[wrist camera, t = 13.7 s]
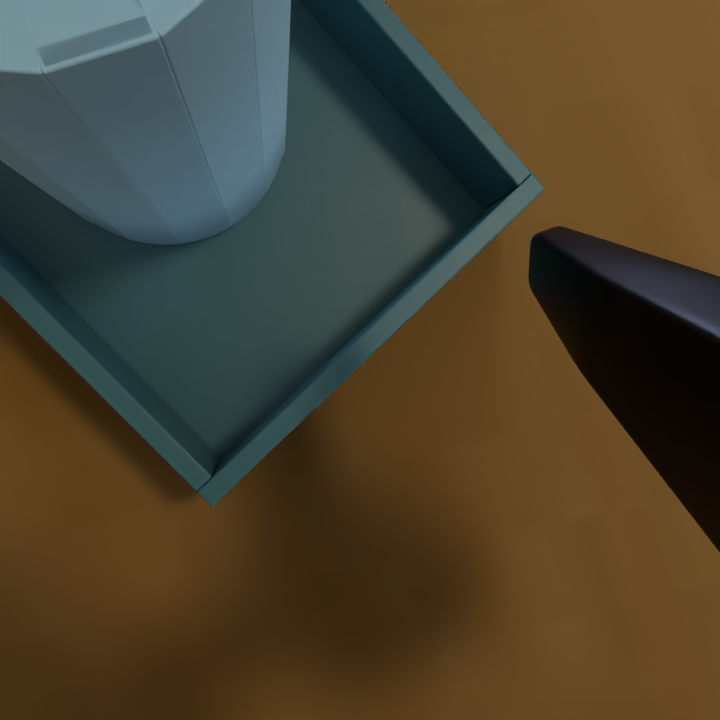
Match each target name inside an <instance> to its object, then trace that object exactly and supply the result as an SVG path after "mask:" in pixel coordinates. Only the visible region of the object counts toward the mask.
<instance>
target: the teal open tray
mask: <svg viewBox="0 0 720 720" xmlns="http://www.w3.org/2000/svg"><path fill="white" fill-rule="evenodd" d="M544 189H545V188H544V186H543V185H542V184H541V183H540V182H539V181H538V180H537V178H536V177H535V176H534V175H533V174H532V175H531V172H530V171H529V169H528V168H527V167H526V166H525V165H524V164H523V162H522V161H521V160H520V159H519V158H518V157H517V156H516V154H515V153H514V152H513V151H512V150H511V149H510V147H509V146H508V145H507V144H506V143H505V142H504V140H503V139H502V138H501V137H500V136H499V135H498V134H497V132H496V131H495V130H494V129H493V128H492V127H491V125H490V124H489V123H488V122H487V121H486V120H485V118H484V117H483V116H482V115H481V114H480V113H479V112H478V110H477V109H476V108H475V107H474V106H473V105H472V103H471V102H470V101H469V100H468V99H467V98H466V96H465V95H464V94H463V93H462V92H461V91H460V89H459V88H458V87H457V86H456V85H455V84H454V83H453V81H452V80H451V79H450V78H449V77H448V76H447V74H446V73H445V72H444V71H443V70H442V69H441V67H440V66H439V65H438V64H437V63H436V62H435V61H434V59H433V58H432V57H431V56H430V55H429V54H428V52H427V51H426V50H425V49H424V48H423V47H422V45H421V44H420V43H419V42H418V41H417V40H416V39H415V37H414V36H413V35H412V34H411V33H410V32H409V30H408V29H407V28H406V27H405V26H404V25H403V23H402V22H401V21H400V20H399V19H398V18H397V17H396V15H395V14H394V13H393V12H392V11H391V10H390V8H389V7H388V6H387V5H386V4H385V3H384V1H383V0H291V13H290V39H289V64H288V90H287V116H286V142H285V152H284V154H283V156H282V159H281V163H280V165H279V168H278V171H277V173H276V176H275V178H274V180H273V182H272V184H271V186H270V187H269V189H268V191H267V192H266V194H265V195H264V196H263V198H262V199H261V201H260V202H259V203H258V204H257V205H256V206H255V207H254V208H253V209H252V210H251V211H250V212H249V214H247V215H246V216H245V217H244V218H242V219H241V220H240V221H239V222H237V223H236V224H234V225H233V226H231V227H229V228H228V229H226V230H224V231H222V232H220V233H218V234H216V235H213V236H211V237H209V238H205V239H202V240H198V241H195V242H189V243H183V244H169V245H159V244H150V243H142V242H138V241H132V240H129V239H126V238H124V237H121V236H118V235H116V234H113V233H111V232H109V231H107V230H105V229H103V228H101V227H99V226H97V225H95V224H93V223H91V222H89V221H86V220H84V219H83V218H82V217H80V216H79V215H77V214H76V213H74V212H73V211H72V210H70V209H69V208H67V207H66V206H65V205H63V204H62V203H60V202H59V201H57V200H56V199H55V198H53V197H52V196H50V195H49V194H48V193H46V192H45V191H43V190H42V189H40V188H39V187H38V186H36V185H35V184H33V183H32V182H30V181H29V180H28V179H26V178H25V177H23V176H22V175H21V174H19V173H18V172H16V171H15V170H13V169H12V168H11V167H9V166H8V165H6V164H5V163H3V162H2V161H1V160H0V296H1V297H2V298H3V299H4V300H5V301H6V302H7V303H8V304H9V305H10V306H11V307H12V308H13V309H14V310H15V311H16V312H17V313H18V314H19V315H20V316H21V317H22V318H23V319H24V320H25V321H26V322H27V323H28V324H29V325H30V326H31V327H32V328H33V329H34V330H35V331H36V332H37V333H38V334H39V335H40V336H41V337H42V338H43V339H44V340H45V341H46V342H47V343H48V344H49V345H50V346H51V347H52V348H53V349H54V350H55V351H56V352H57V353H58V354H59V355H60V356H61V357H62V358H63V359H64V360H65V361H66V362H67V363H68V364H69V365H70V366H71V367H72V368H73V369H74V370H75V371H76V372H77V373H78V374H79V375H80V376H81V377H82V378H83V379H84V380H85V381H86V382H87V383H88V384H89V385H90V386H91V387H92V388H93V389H94V390H95V391H96V392H97V393H98V394H99V395H100V396H101V397H102V398H103V399H104V400H105V401H106V402H107V403H108V404H109V405H110V406H111V407H112V408H113V409H114V410H115V411H116V412H117V413H118V414H119V415H120V416H121V417H122V418H123V419H124V420H125V421H126V422H127V423H128V424H129V425H130V426H131V427H132V428H133V429H134V430H135V431H136V432H137V433H138V434H139V435H140V436H141V437H142V438H143V439H144V440H145V441H146V442H147V443H148V444H149V445H150V446H151V447H152V448H153V449H154V450H155V451H156V452H157V453H158V454H159V455H160V456H161V457H162V458H163V459H164V460H165V461H166V462H167V463H168V464H169V465H170V466H171V467H172V468H173V469H174V470H175V471H176V472H177V473H178V474H179V475H180V476H181V477H182V478H183V479H184V480H185V481H186V482H187V483H188V484H189V485H190V486H191V487H192V488H193V489H194V490H196V491H197V490H198V492H197V493H198V494H199V495H200V496H201V497H202V498H203V499H204V500H205V501H206V502H207V503H208V504H209V505H210V506H211V507H212V506H214V505H215V504H216V503H217V502H218V501H219V500H220V499H221V498H222V497H223V496H224V495H226V494H227V493H228V492H229V491H230V490H231V489H232V488H233V487H234V486H235V485H236V484H237V483H238V482H239V481H240V480H241V479H242V478H243V477H244V476H245V475H246V474H248V473H249V472H250V471H251V470H252V469H253V468H254V467H255V466H256V465H257V464H258V463H259V462H260V461H261V460H262V459H263V458H264V457H265V456H266V455H267V454H268V453H270V452H271V451H272V450H273V449H274V448H275V447H276V446H277V445H278V444H279V443H280V442H281V441H282V440H283V439H284V438H285V437H286V436H287V435H288V434H289V433H290V432H292V431H293V430H294V429H295V428H296V427H297V426H298V425H299V424H300V423H301V422H302V421H303V420H304V419H305V418H306V417H307V416H308V415H309V414H310V413H311V412H312V411H313V410H315V409H316V408H317V407H318V406H319V405H320V404H321V403H322V402H323V401H324V400H325V399H326V398H327V397H328V396H329V395H330V394H331V393H332V392H333V391H334V390H335V389H337V388H338V387H339V386H340V385H341V384H342V383H343V382H344V381H345V380H346V379H347V378H348V377H349V376H350V375H351V374H352V373H353V372H354V371H355V370H356V369H357V368H359V367H360V366H361V365H362V364H363V363H364V362H365V361H366V360H367V359H368V358H369V357H370V356H371V355H372V354H373V353H374V352H375V351H376V350H377V349H378V348H379V347H381V346H382V345H383V344H384V343H385V342H386V341H387V340H388V339H389V338H390V337H391V336H392V335H393V334H394V333H395V332H396V331H397V330H398V329H399V328H400V327H401V326H402V325H404V324H405V323H406V322H407V321H408V320H409V319H410V318H411V317H412V316H413V315H414V314H415V313H416V312H417V311H418V310H419V309H420V308H421V307H422V306H423V305H424V304H426V303H427V302H428V301H429V300H430V299H431V298H432V297H433V296H434V295H435V294H436V293H437V292H438V291H439V290H440V289H441V288H442V287H443V286H444V285H445V284H446V283H448V282H449V281H450V280H451V279H452V278H453V277H454V276H455V275H456V274H457V273H458V272H459V271H460V270H461V269H462V268H463V267H464V266H465V265H466V264H467V263H468V262H469V261H471V260H472V259H473V258H474V257H475V256H476V255H477V254H478V253H479V252H480V251H481V250H482V249H483V248H484V247H485V246H486V245H487V244H488V243H489V242H490V241H491V240H493V239H494V238H495V237H496V236H497V235H498V234H499V233H500V232H501V231H502V230H503V229H504V228H505V227H506V226H507V225H508V224H509V223H510V222H511V221H512V220H513V219H515V218H516V217H517V216H518V215H519V214H520V213H521V212H522V211H523V210H524V209H525V208H526V207H527V206H528V205H529V204H530V203H531V202H532V201H533V200H534V199H535V198H537V197H538V196H539V195H540V194H541V193H542V192H543V191H544Z"/></svg>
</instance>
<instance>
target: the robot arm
mask: <svg viewBox="0 0 720 720" xmlns="http://www.w3.org/2000/svg"><path fill="white" fill-rule="evenodd" d="M528 277H529V284H530V288H531V290H532V292H533V294H534V296H535V297H536V299H537V301H538V302H539V304H540V306H541V307H542V309H543V311H544V312H545V314H546V316H547V317H548V319H549V321H550V322H551V324H552V326H553V328H554V329H555V331H556V333H557V334H558V336H559V338H560V339H561V341H562V343H563V344H564V346H565V348H566V349H567V351H568V353H569V354H570V356H571V358H572V359H573V361H574V362H575V364H576V365H577V367H578V369H579V370H580V371H581V373H582V374H583V376H584V377H585V378H586V380H587V381H588V382H589V384H590V385H591V386H592V387H593V389H594V390H595V391H596V393H597V394H598V395H599V397H600V398H601V399H602V400H603V402H604V403H605V404H606V406H607V407H608V408H609V410H610V411H611V412H612V413H613V415H614V416H615V417H616V419H617V420H618V421H619V422H620V424H621V425H622V426H623V428H624V429H625V430H626V432H627V433H628V434H629V435H630V437H631V438H632V439H633V441H634V442H635V443H636V444H637V446H638V447H639V448H640V450H641V451H642V452H643V454H644V455H645V456H646V457H647V459H648V460H649V461H650V463H651V464H652V465H653V466H654V468H655V469H656V470H657V472H658V473H659V474H660V476H661V477H662V478H663V479H664V481H665V482H666V483H667V485H668V486H669V487H670V489H671V490H672V491H673V492H674V494H675V495H676V496H677V498H678V499H679V500H680V501H681V503H682V504H683V505H684V507H685V508H686V509H687V511H688V512H689V513H690V514H691V516H692V517H693V518H694V520H695V521H696V522H697V523H698V525H699V526H700V527H701V529H702V530H703V531H704V533H705V534H706V535H707V536H708V538H709V539H710V540H711V542H712V543H713V544H714V545H715V547H716V548H717V549H718V551H719V552H720V277H719V276H716V275H713V274H710V273H707V272H704V271H700V270H697V269H694V268H691V267H688V266H685V265H682V264H679V263H675V262H672V261H669V260H666V259H663V258H660V257H657V256H653V255H650V254H647V253H644V252H641V251H638V250H635V249H631V248H628V247H625V246H622V245H619V244H616V243H613V242H610V241H606V240H603V239H600V238H597V237H594V236H591V235H588V234H584V233H581V232H578V231H575V230H572V229H569V228H566V227H562V226H557V227H553V228H550V229H547V230H545V231H542V232H539V233H537V234H535V235H534V236H533V237H532V240H531V244H530V258H529V275H528Z"/></svg>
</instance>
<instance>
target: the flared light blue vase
mask: <svg viewBox="0 0 720 720" xmlns="http://www.w3.org/2000/svg"><path fill="white" fill-rule="evenodd" d="M290 13H291V0H0V160H1V161H2V162H3V163H5V164H6V165H8V166H9V167H11V168H12V169H13V170H15V171H16V172H18V173H19V174H21V175H22V176H23V177H25V178H26V179H28V180H29V181H30V182H32V183H33V184H35V185H36V186H38V187H39V188H40V189H42V190H43V191H45V192H46V193H48V194H49V195H50V196H52V197H53V198H55V199H56V200H57V201H59V202H60V203H62V204H63V205H65V206H66V207H67V208H69V209H70V210H72V211H73V212H74V213H76V214H77V215H79V216H80V217H82V218H83V219H84V220H86V221H89V222H91V223H93V224H95V225H97V226H99V227H101V228H103V229H105V230H107V231H109V232H111V233H113V234H116V235H118V236H121V237H124V238H126V239H129V240H132V241H138V242H142V243H150V244H159V245H169V244H183V243H189V242H195V241H198V240H202V239H205V238H209V237H211V236H213V235H216V234H218V233H220V232H222V231H224V230H226V229H228V228H229V227H231V226H233V225H234V224H236V223H237V222H239V221H240V220H241V219H242V218H244V217H245V216H246V215H247V214H249V212H250V211H251V210H252V209H253V208H254V207H255V206H256V205H257V204H258V203H259V202H260V201H261V199H262V198H263V196H264V195H265V194H266V192H267V191H268V189H269V187H270V186H271V184H272V182H273V180H274V178H275V176H276V173H277V171H278V168H279V165H280V163H281V159H282V156H283V154H284V152H285V142H286V116H287V90H288V64H289V39H290Z"/></svg>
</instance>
